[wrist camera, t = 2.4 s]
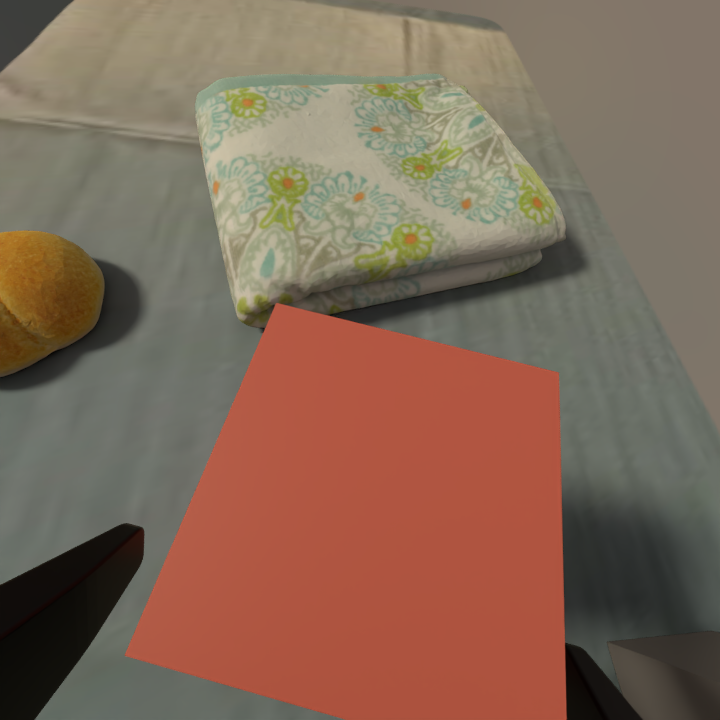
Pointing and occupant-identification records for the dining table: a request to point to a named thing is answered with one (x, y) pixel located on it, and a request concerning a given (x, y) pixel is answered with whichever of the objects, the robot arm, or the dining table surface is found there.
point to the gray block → (670, 675)
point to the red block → (374, 533)
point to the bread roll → (44, 296)
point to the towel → (364, 191)
